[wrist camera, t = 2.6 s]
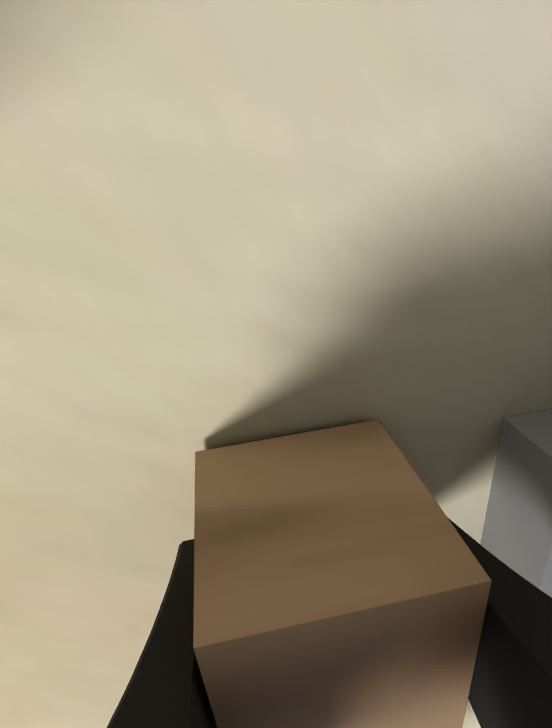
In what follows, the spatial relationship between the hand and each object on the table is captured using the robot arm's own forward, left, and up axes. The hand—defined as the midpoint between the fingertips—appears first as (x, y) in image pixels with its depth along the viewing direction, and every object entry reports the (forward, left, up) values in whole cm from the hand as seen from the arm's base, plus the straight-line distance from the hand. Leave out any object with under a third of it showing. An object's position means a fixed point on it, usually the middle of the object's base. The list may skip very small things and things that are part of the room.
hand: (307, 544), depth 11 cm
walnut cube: (0, 0, -1) cm, 1 cm away
